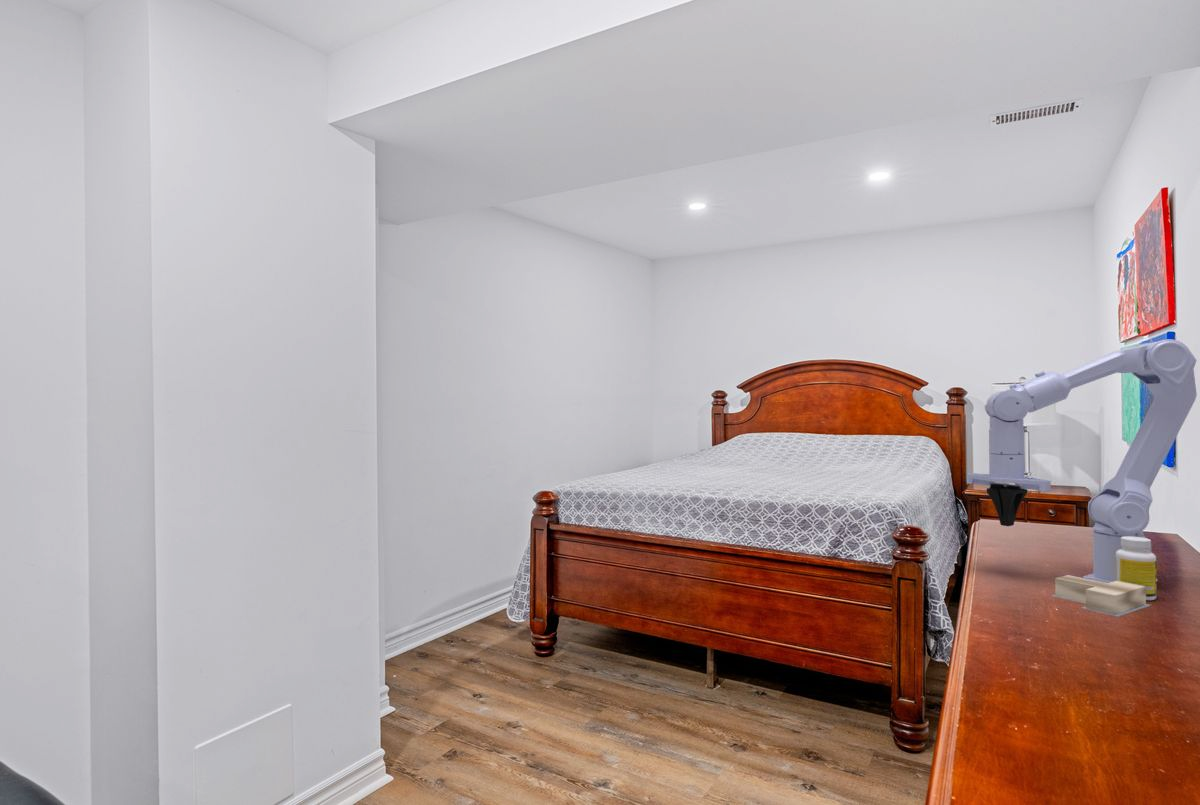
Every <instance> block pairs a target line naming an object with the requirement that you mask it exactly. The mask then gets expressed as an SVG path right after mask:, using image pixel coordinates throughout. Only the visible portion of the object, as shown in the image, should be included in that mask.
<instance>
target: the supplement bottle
mask: <svg viewBox="0 0 1200 805" xmlns="http://www.w3.org/2000/svg"><path fill="white" fill-rule="evenodd" d="M1121 546H1122V549H1120V550H1118V551H1117V552H1116V581H1121V582H1127V583H1132V584H1137V585H1142V586H1146V601H1154V600H1156V599H1157V592H1158V591H1157V584H1158V583H1157V582H1156V579H1157V556H1156V555H1155V554H1154V553H1153V552H1152V551H1151V552H1149V549H1151V550H1152V540H1151V539H1149V538H1147V537H1146V538H1141V537H1132V536H1124V537H1121Z"/></svg>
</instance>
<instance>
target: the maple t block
mask: <svg viewBox="0 0 1200 805" xmlns="http://www.w3.org/2000/svg"><path fill="white" fill-rule="evenodd" d="M1054 579H1055V580H1054V584H1055V586H1054V588H1055V589H1054V590H1055V591H1054V592H1055V596H1058V597H1062V598H1067V599H1071V600H1075V601H1080V602H1084V603H1086V604H1085V606H1086V608H1087V609H1092V610H1096V611H1100V612H1104V613H1108V614H1113V615H1117V614H1120V613H1123V612H1126V611H1129V610H1132V609H1135V608H1138V607H1141V606H1144V605H1146V604H1147V600H1146V586H1142V585H1137V584H1132V583H1127V582H1121V581H1114V582H1110V583H1105V582H1100V581H1095V580H1090V579H1085V578H1083V577H1080V576H1074V575H1070V574H1067V575H1063V576H1059V577H1055V578H1054ZM1058 597H1057V598H1058ZM1062 598H1061V599H1062ZM1067 599H1066V600H1067ZM1071 600H1070V601H1071ZM1075 601H1074V602H1075ZM1084 603H1083V604H1084ZM1087 609H1086V610H1087ZM1100 612H1099V613H1100ZM1104 613H1103V614H1104ZM1108 614H1107V615H1108Z"/></svg>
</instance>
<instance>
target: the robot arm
mask: <svg viewBox="0 0 1200 805" xmlns="http://www.w3.org/2000/svg"><path fill="white" fill-rule="evenodd" d="M1197 360H1198V359H1197V358H1196V357H1195V355H1194V354H1193V353H1192V351H1191V349H1189V347H1188V346H1187V345H1186V344H1185V343H1183V342H1181V341H1179V340H1177V339H1170V338H1168V339H1162V340H1159V341H1155V342H1143V343H1138V344H1135V345H1134V346H1131V347H1126V348H1122V349H1119V350H1115V351H1111V352H1109V353H1107V354H1105V355H1102V356H1100V357H1098V358H1096V359H1093V360H1091V361H1089V362H1087V363H1084V364H1082V365H1079V366H1077V367H1075V368H1073V369H1071V370H1069V371H1066V372H1064V373H1059V372H1055V371H1047V372H1045V371H1044V370H1043V371H1039V372H1037V373H1035V374H1034V375H1035V377H1033V378H1030V379H1028V380H1025V381H1023V382H1021V383H1019V384H1017V383H1012V384H1010V385H1009V389H1006V390H1000V391H996V392H994V393H992V394H991V395H990V396H989V397H988V399H987V400H986V404H985V405H984V410H985V412H986V414H987V415H988V416H989V429H988V448H989V449H988V456H989V457H988V459H989V460H988V462H989V465H988V466H989V470H988V472H989V473H976V472H975V473H974V472H971V473H966V484H970V485H971V484H972V485H973V484H974V485H975V484H976V485H984V486H989V487H988V488H986V493H987V495H988V496H989V497H990V500H991V501H992V503H993V505H994V507H995V510H996V513H997V515H998V520H999V524H1000V526H1004V527H1011V526H1015V522H1016V521H1015V520H1016V517H1017V514H1018V511H1019V508H1020V505H1021V503H1022V502H1023V500H1024V499H1025V497H1026V496H1027V494H1028V490H1031V491H1039V492H1044V493H1045V492H1051V490H1052V486H1051V483H1052V482H1051V481H1052V480H1049V479H1040V478H1033V477H1026V475H1025V429H1024V419H1025V417H1027V414H1028V413H1029V414H1030V413H1034V412H1036V411H1038V410H1042V409H1044V408H1046V407H1049V406H1052V405H1055V404H1056V403H1059V402H1062V401H1064V400H1067V399H1068V396H1069V395H1070V392H1071V390H1072V389H1075V388H1079V387H1080V386H1081V387H1082V386H1083V385H1086V384H1089V383H1091V382H1095V381H1097V380H1100V379H1102V378H1105V377H1108V376H1111V375H1113V374H1118V373H1119V374H1132V375H1133V376H1134V377H1135V378H1137V379H1139V380H1140V381H1141V382H1142V383H1143V384H1144V385H1145V386H1146V388H1148V390H1149V392H1150V393H1151V394H1152V396H1153V400H1152V403H1151V404H1150V407H1149V408H1148V410H1147V413H1146V414H1145V416H1144V418H1143V420H1142V422H1141V424H1140V427H1139V429H1137V431H1136V434H1135V436H1134V438H1133V440H1132V443H1131V444H1130V446H1129V447H1128V450H1127V452H1126V454H1125V456H1124V458H1123V459H1122V462H1121V464H1120V466H1119V468H1118V470H1117V472H1116V474H1115V475H1114V476H1113V477H1112V478H1111V479H1109V480H1108V481H1107V482H1106V483H1105V484H1104V485H1103V486H1102V489H1101V490H1100V492H1099V493H1097V494H1095V495H1094V496H1093V497H1091V499H1089V502H1088V505H1087V511H1088V512H1087V513H1088V515H1089V517H1090V518H1091V520H1093V521H1094V525H1093V527H1092V550H1093V552H1092V556H1093V557H1092V558H1093V563H1092V565H1093V566H1092V567H1093V571H1092V573H1090V574H1087V575H1083V576H1082V578H1085V579H1090V580H1095V581H1100V582H1105V583H1110V582H1114V581H1116V552H1117V551H1118V550H1120V549H1122V546H1121V537H1124V536H1132V537H1141V538H1147V537H1146V536H1145V535H1144V530H1145V529H1146V528H1147V526H1148V525H1149V522H1150V507H1151V505H1152V503H1153V496H1152V492H1151V487H1152V485H1153V483H1154V481H1155V480H1156V477H1157V475H1158V473H1159V472H1160V470H1161V467H1162V466H1163V463H1164V462H1165V460H1166V458H1167V456H1168V454H1169V452H1170V450H1171V448H1172V447H1173V444H1174V442H1175V441H1176V438H1177V437H1178V434H1179V432H1180V431H1181V429H1182V426H1183V425H1184V423H1185V421H1186V419H1187V417H1188V415H1189V413H1190V411H1191V409H1192V407H1193V405H1194V403H1195V401H1196V399H1197V388H1196V386H1197V384H1196V378H1195V370H1194V369H1195V366H1196V363H1197ZM1149 552H1151V553H1152V548H1151V549H1149ZM1157 582H1158V578H1156V583H1157Z"/></svg>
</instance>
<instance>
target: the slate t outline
mask: <svg viewBox="0 0 1200 805" xmlns="http://www.w3.org/2000/svg"><path fill="white" fill-rule="evenodd" d="M1050 596H1051V597H1054V598H1059V599H1063V600H1066V601H1071V602H1075V603H1080V604H1084V602H1080V601H1075V600H1071V599H1067V598H1062V597H1058V596H1055V594H1052V595H1050ZM1150 606H1152V604H1148V603H1146V605H1144V606H1141V607H1138V608H1135V609H1132V610H1129V611H1126V612H1123V613H1120V614H1117V615H1113V614H1108V613H1104V612H1100V611H1096V610H1092V609H1087V608H1086V603H1085V606H1082V607H1081V609H1084V610H1088V611H1091V612H1096V613H1100V614H1104V615H1109V616H1113V617H1117V618H1118V617H1121V616H1124V615H1127V614H1130V613H1132V612H1133V613H1134V612H1136V611H1139V610H1143V609H1144V608H1148V607H1150Z"/></svg>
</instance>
